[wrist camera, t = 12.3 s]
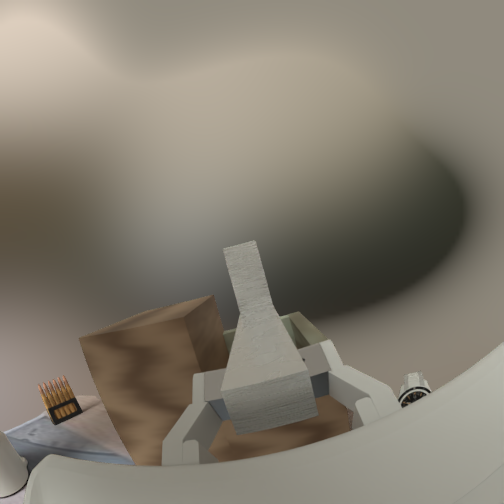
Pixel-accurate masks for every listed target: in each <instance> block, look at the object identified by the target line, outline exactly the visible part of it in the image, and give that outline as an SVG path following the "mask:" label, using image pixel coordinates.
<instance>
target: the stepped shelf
mask: <svg viewBox="0 0 504 504" xmlns="http://www.w3.org/2000/svg"><path fill="white" fill-rule="evenodd" d="M280 319H281V321H282V323H283V325H284V326H285V328H286V330H287V332H288V334H289V336H290V337H291V339H292V341H293V343H294V345H295V347H296V348H297V350H298V349H301V348H304V347H307V346H310V345H313V344H316V343H320V342H323V341H326V340H329V339H327V338H326V337H325V336H324V335H323V334H322V333H321V332H320V331H319V330H318V329H317V328H315V326H313V325H312V324H311V323H310V322H309V321H308V320H307V319H306V318H305V317H304V316H303V315H302V314H301V313H300V312H295V313H292V314H289V315H285V316H281V317H280ZM236 329H237V328H236ZM236 329H232V330H228V331H224V330H223V326H222V323H221V319H220V316H219V312H218V309H217V305H216V302H215V298H214V295H210V296H206V297H203V298H198V299H195V300H191V301H186V302H182V303H178V304H174V305H170V306H166V307H162V308H157V309H153V310H148V311H144V312H142V313H139V314H137V315H135V316H132V317H130V318H127V319H125V320H122V321H120V322H117V323H115V324H112V325H110V326H107V327H105V328H102V329H100V330H97V331H95V332H92V333H90V334H88V335H85V336H82V337H80V338H79V341H80V344H81V347H82V350H83V353H84V356H85V359H86V362H87V364H88V367H89V370H90V372H91V375H92V378H93V380H94V383H95V385H96V388H97V390H98V392H99V395H100V397H101V399H102V402H103V404H104V406H105V408H106V410H107V412H108V415H109V417H110V419H111V421H112V423H113V425H114V427H115V429H116V431H117V432H118V434H119V436H120V438H121V440H122V442H123V444H124V445H125V447H126V449H127V451H128V452H129V454H130V456H131V457H132V459H133V461H134V462H135V464H136V465H141V466H162V445H163V440H164V439H165V437H166V436H167V435H168V433H169V432H170V431H171V429H172V428H173V426H174V425H175V424H176V422H177V421H178V420H179V418H180V417H181V415H182V414H183V413H184V411H185V410H186V408H187V407H188V405H189V404H192V390H193V375H194V374H196V373H202V372H208V371H213V370H219V369H224V368H227V364H228V360H229V356H230V352H231V348H232V345H233V341H234V337H235V333H236ZM334 346H335V345H334ZM315 401H316V406H317V410H318V414H319V416H315V417H312V418H309V419H305V420H302V421H298V422H295V423H291V424H287V425H283V426H279V427H275V428H271V429H266V430H262V431H257V432H252V433H247V434H242V435H237V434H236V431H235V429H234V426H233V423H232V421H231V419H230V420H225V421H222V424H221V426H220V428H219V430H218V432H217V434H216V436H215V438H214V440H213V442H212V444H211V446H210V448H209V450H208V451H209V452H210V453H211V454H212V455H213V456H214V457H215V458H217V459H218V462H227V461H234V460H241V459H247V458H253V457H258V456H263V455H268V454H273V453H278V452H282V451H286V450H290V449H294V448H298V447H302V446H305V445H309V444H312V443H316V442H319V441H322V440H325V439H328V438H331V437H334V436H337V435H340V434H343V433H346V432H348V431H350V427H349V420H348V414H347V408H346V406H344V405H343V404H341V403H340V402H338V401H337V400H336V399H334V398H333V397H331V396H330V394H329V395H325V396H322V397H319V398H315Z"/></svg>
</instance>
